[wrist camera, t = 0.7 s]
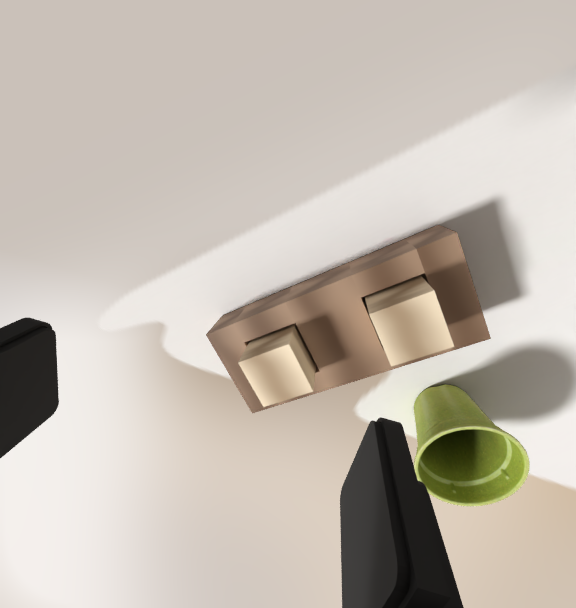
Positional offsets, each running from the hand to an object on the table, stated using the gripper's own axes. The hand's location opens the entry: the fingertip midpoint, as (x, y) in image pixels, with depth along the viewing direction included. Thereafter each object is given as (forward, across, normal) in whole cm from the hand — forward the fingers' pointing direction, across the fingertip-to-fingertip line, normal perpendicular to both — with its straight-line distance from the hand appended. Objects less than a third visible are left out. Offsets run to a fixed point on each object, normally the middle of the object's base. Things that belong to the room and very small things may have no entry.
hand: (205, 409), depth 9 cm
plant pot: (+25, -20, +13) cm, 35 cm away
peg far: (+22, -2, +10) cm, 24 cm away
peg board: (+25, -6, +6) cm, 27 cm away
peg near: (+22, -11, +2) cm, 24 cm away
